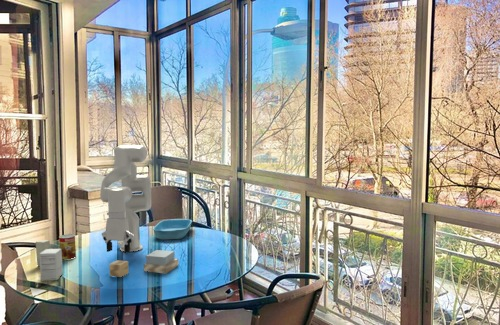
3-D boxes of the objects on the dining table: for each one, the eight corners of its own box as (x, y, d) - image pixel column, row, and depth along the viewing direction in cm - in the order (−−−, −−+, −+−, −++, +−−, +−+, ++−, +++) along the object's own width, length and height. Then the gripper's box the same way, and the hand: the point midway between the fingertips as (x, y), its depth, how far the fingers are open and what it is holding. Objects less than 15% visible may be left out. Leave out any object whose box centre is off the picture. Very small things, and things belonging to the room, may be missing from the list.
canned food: (69, 260, 209) (68, 238, 208) (56, 259, 211) (55, 237, 210) (79, 256, 217) (78, 234, 216) (66, 255, 218) (65, 233, 218)
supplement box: (47, 275, 188) (45, 248, 187) (63, 274, 188) (62, 248, 188) (40, 280, 180) (38, 253, 180) (57, 280, 181) (55, 252, 180)
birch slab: (144, 272, 192) (143, 264, 192) (157, 264, 203) (157, 256, 203) (166, 274, 188) (166, 266, 188) (178, 266, 200) (178, 258, 199)
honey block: (109, 276, 185) (109, 264, 185) (118, 272, 191) (117, 260, 190) (120, 278, 183) (120, 265, 183) (128, 273, 189) (128, 261, 188)
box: (51, 265, 202) (50, 240, 201) (44, 267, 198) (43, 242, 197) (43, 264, 204) (42, 239, 203) (36, 266, 200) (35, 241, 199)
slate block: (146, 264, 192) (146, 255, 192) (156, 257, 202) (156, 249, 201) (165, 265, 189) (165, 257, 189) (174, 259, 199) (174, 251, 199)
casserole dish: (162, 228, 281) (162, 218, 281) (194, 227, 281) (193, 217, 281) (149, 242, 244) (149, 230, 244) (186, 241, 245) (185, 230, 244)
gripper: (96, 215, 184) (97, 252, 185) (128, 217, 178) (129, 255, 179) (106, 213, 191) (108, 248, 192) (137, 214, 186) (138, 251, 186)
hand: (118, 251), depth 186 cm, fingers open, 9 cm apart
